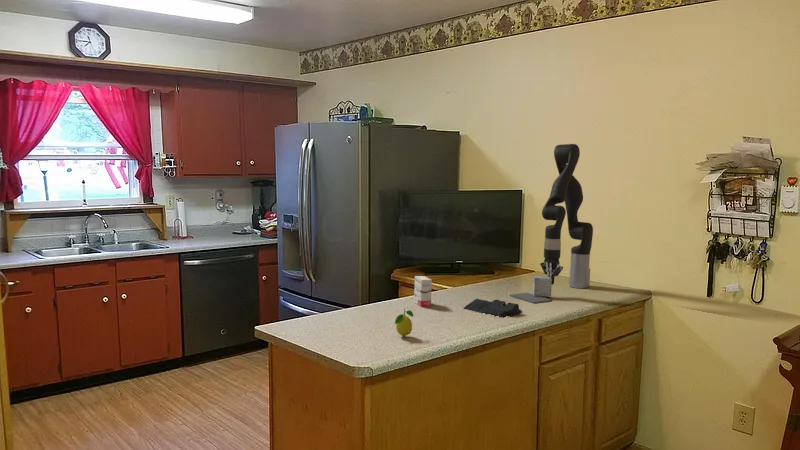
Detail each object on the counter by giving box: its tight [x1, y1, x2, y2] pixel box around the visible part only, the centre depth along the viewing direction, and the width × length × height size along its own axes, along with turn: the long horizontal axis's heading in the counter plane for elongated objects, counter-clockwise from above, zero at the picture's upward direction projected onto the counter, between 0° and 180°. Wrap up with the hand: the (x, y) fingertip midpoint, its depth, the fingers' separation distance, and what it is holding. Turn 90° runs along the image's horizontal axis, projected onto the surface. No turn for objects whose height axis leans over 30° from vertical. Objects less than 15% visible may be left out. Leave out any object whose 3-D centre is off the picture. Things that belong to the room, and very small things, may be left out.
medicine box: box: [532, 275, 552, 297], centre depth 268 cm, size 8×4×9 cm, turn 85°
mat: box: [509, 292, 553, 304], centre depth 265 cm, size 11×16×1 cm
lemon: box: [394, 309, 414, 338], centre depth 201 cm, size 7×6×10 cm
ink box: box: [413, 275, 433, 308], centre depth 248 cm, size 8×5×12 cm, turn 20°
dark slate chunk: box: [463, 298, 523, 318], centre depth 242 cm, size 15×22×5 cm
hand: (550, 284), depth 271 cm, fingers closed
